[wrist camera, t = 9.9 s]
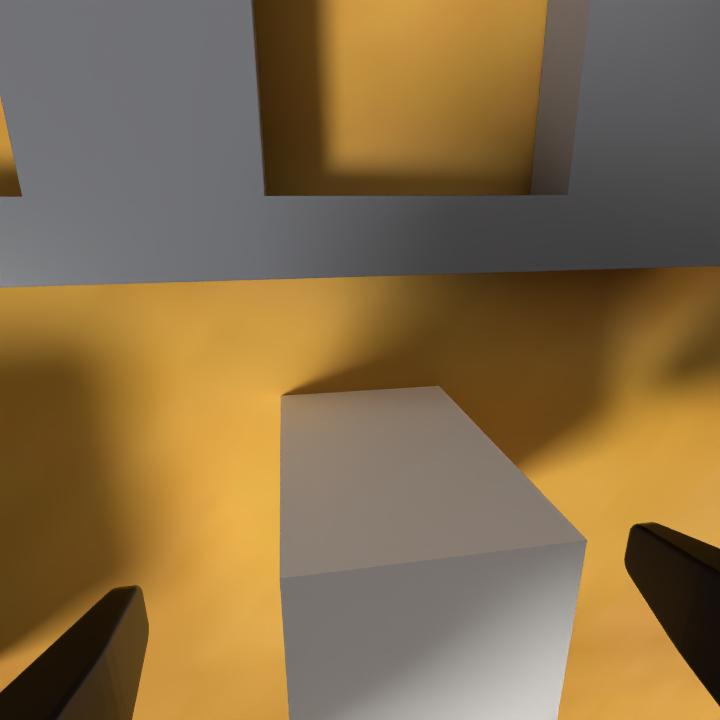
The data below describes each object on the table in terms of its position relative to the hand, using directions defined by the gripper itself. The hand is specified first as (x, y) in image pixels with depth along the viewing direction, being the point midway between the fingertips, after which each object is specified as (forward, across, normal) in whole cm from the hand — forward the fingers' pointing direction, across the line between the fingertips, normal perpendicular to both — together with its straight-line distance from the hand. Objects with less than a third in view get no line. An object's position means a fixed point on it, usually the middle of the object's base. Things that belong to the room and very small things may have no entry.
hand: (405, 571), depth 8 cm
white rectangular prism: (+4, 0, 0) cm, 4 cm away
